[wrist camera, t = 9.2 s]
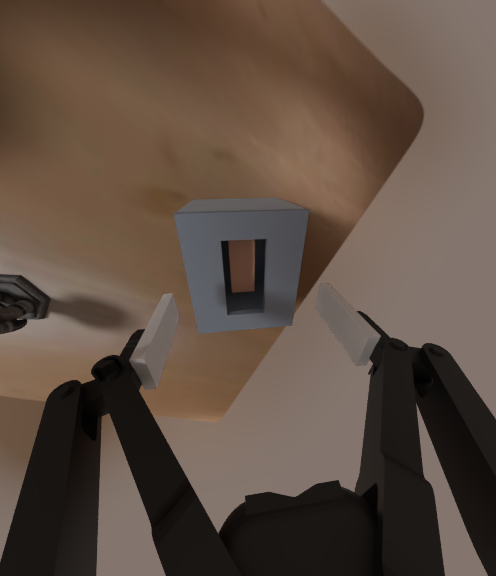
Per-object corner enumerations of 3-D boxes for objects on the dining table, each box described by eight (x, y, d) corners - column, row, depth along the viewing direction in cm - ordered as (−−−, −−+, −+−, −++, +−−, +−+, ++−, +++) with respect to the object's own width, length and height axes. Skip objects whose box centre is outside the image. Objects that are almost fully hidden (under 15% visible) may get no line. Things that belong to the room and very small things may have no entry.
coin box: (193, 199, 26) (173, 213, 16) (277, 197, 27) (309, 209, 17) (206, 285, 33) (198, 333, 23) (271, 281, 34) (292, 325, 24)
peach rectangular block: (227, 224, 27) (228, 239, 21) (247, 223, 28) (254, 238, 21) (230, 267, 31) (231, 292, 24) (247, 266, 31) (254, 291, 24)
